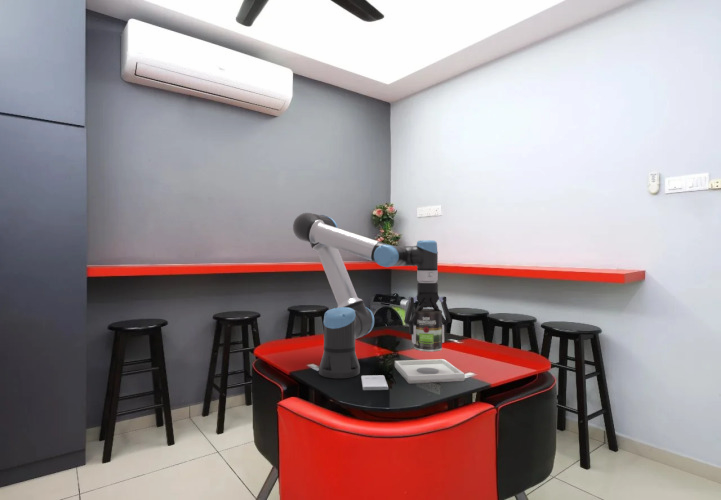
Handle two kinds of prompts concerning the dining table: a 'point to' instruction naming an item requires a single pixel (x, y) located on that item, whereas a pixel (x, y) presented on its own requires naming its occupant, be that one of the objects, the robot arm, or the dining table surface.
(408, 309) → the robot arm
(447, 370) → the tray
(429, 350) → the coffee can
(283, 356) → the dining table surface
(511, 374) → the dining table surface
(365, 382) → the external hard drive
